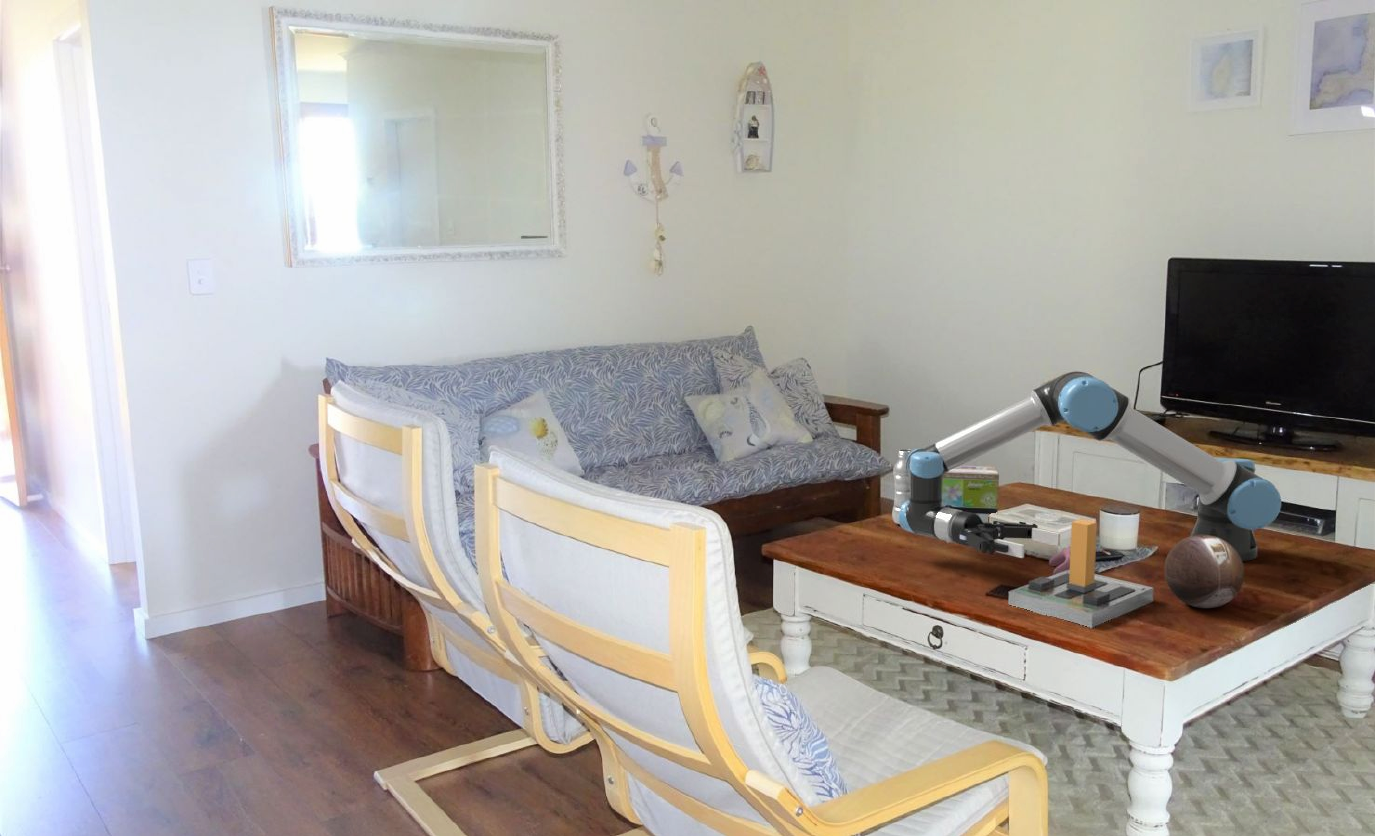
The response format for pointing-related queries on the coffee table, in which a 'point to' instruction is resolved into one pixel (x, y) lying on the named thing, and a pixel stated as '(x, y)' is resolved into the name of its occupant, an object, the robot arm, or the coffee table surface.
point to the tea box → (971, 490)
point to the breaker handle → (1082, 556)
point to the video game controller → (1061, 561)
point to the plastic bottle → (901, 483)
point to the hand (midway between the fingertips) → (1041, 545)
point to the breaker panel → (1081, 598)
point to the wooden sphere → (1204, 571)
